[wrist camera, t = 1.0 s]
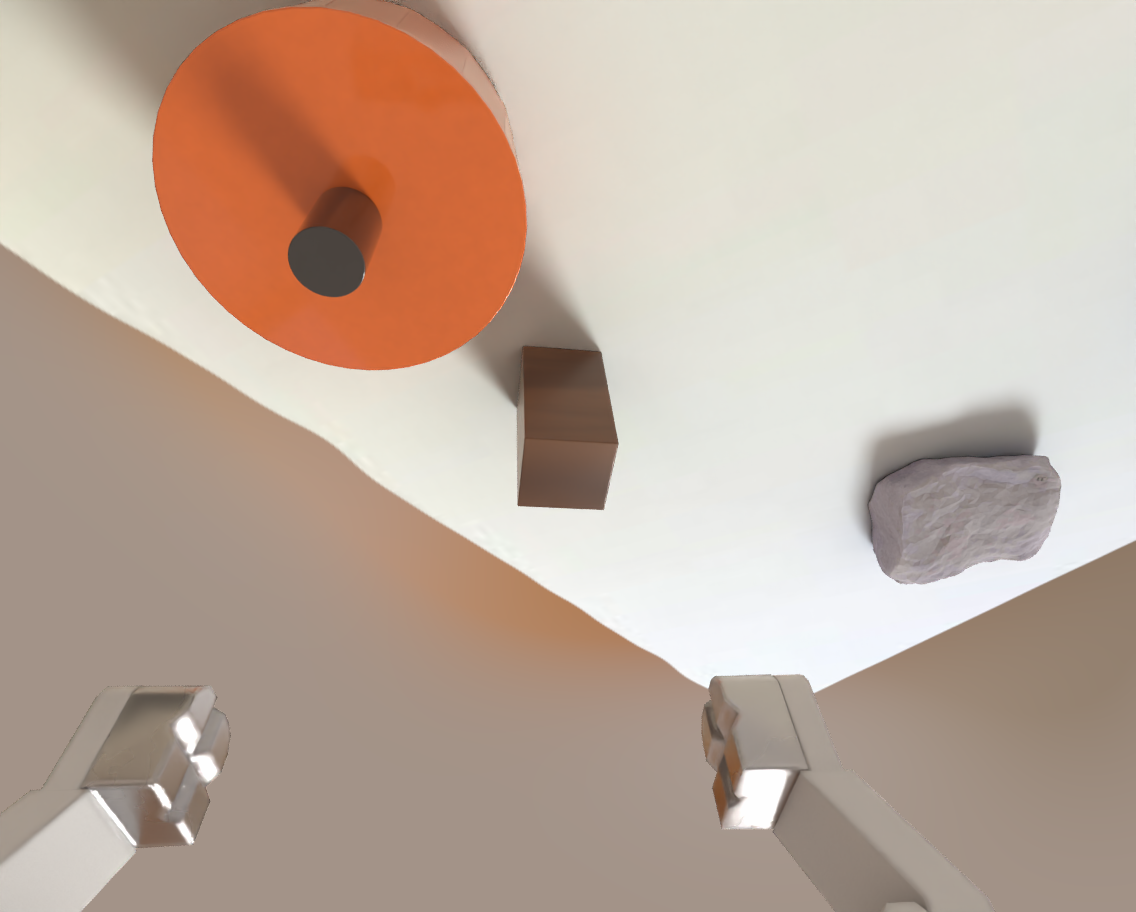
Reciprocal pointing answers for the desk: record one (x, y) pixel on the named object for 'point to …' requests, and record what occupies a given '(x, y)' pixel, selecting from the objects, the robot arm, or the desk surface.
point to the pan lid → (340, 187)
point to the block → (564, 430)
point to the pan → (427, 31)
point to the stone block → (961, 514)
